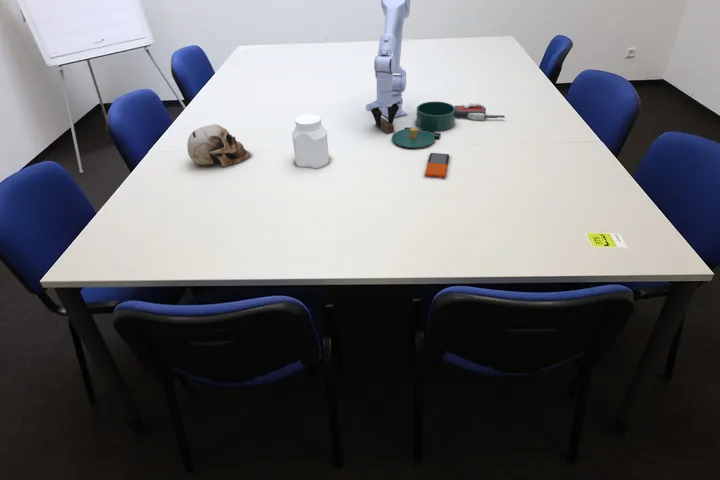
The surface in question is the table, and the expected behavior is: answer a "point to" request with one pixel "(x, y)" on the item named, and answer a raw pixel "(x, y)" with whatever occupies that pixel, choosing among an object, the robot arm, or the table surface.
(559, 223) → the table surface
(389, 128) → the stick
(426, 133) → the tin lid
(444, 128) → the tin
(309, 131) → the jar
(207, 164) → the coin bank
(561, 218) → the table surface
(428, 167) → the phone
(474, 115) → the walkie-talkie
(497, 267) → the table surface
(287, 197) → the table surface
